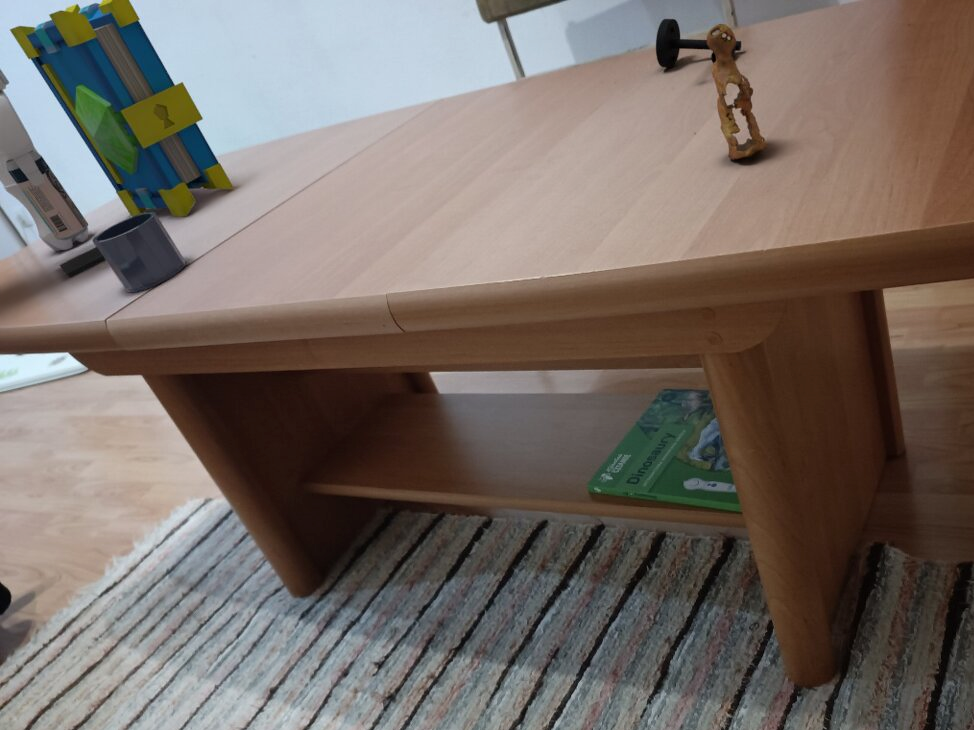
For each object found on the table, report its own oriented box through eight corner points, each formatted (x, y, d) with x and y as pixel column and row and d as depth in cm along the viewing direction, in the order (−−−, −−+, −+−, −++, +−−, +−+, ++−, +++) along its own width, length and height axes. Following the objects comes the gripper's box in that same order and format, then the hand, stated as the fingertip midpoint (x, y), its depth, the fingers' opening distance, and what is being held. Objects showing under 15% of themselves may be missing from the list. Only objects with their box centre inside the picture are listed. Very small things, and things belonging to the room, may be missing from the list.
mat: (70, 277, 125) (67, 273, 125) (61, 268, 131) (59, 264, 131) (122, 251, 128) (119, 247, 128) (112, 243, 134) (109, 240, 134)
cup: (133, 297, 108) (98, 246, 104) (121, 285, 114) (87, 237, 110) (192, 266, 111) (161, 215, 107) (177, 256, 117) (146, 208, 113)
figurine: (776, 138, 85) (753, 8, 78) (764, 162, 81) (738, 28, 74) (731, 146, 87) (704, 20, 80) (717, 170, 83) (687, 40, 76)
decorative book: (177, 223, 132) (47, 15, 114) (114, 221, 146) (-9, 36, 129) (251, 181, 139) (141, -21, 122) (185, 183, 154) (77, 3, 136)
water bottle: (59, 256, 138) (-55, 99, 124) (46, 252, 143) (-64, 101, 129) (100, 234, 141) (-5, 79, 127) (87, 231, 146) (-16, 82, 132)
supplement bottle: (96, 226, 127) (42, 147, 121) (68, 242, 125) (11, 162, 118) (81, 227, 130) (27, 150, 123) (53, 242, 127) (-4, 164, 120)
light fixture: (713, 49, 104) (747, 13, 112) (633, 46, 108) (670, 12, 116) (715, 99, 108) (747, 60, 116) (637, 94, 112) (673, 57, 120)
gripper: (-60, 92, 121) (7, 185, 129) (-53, 94, 106) (23, 199, 114) (-15, 74, 124) (49, 166, 131) (-1, 73, 109) (70, 178, 116)
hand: (37, 182), depth 123 cm, fingers closed on supplement bottle, 5 cm apart
